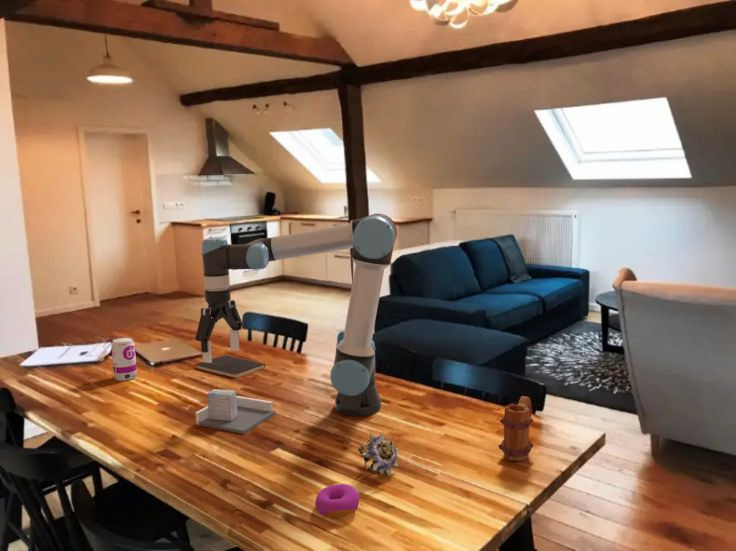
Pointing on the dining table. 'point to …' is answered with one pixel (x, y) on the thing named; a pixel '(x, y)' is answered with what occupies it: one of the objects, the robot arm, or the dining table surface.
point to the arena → (240, 415)
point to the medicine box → (222, 405)
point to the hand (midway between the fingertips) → (221, 356)
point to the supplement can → (124, 359)
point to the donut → (337, 500)
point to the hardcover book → (230, 366)
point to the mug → (517, 430)
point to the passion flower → (380, 454)
